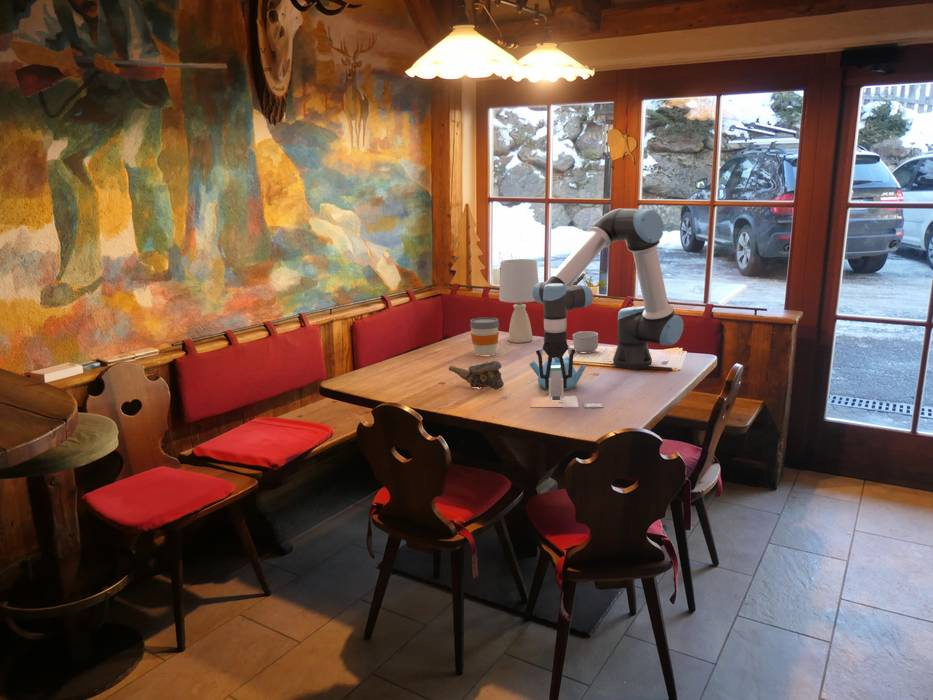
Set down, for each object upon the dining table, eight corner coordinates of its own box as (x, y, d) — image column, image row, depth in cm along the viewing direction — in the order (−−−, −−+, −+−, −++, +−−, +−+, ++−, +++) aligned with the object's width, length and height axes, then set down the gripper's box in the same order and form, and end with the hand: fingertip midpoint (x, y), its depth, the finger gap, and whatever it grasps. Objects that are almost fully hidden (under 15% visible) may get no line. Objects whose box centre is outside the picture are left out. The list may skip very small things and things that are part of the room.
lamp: (529, 346, 342) (528, 264, 333) (493, 343, 351) (490, 263, 342) (547, 338, 357) (545, 259, 349) (511, 335, 366) (509, 258, 358)
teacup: (599, 354, 322) (599, 335, 321) (574, 355, 323) (574, 336, 321) (594, 346, 336) (594, 329, 334) (570, 347, 336) (570, 330, 334)
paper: (576, 396, 264) (576, 396, 264) (578, 407, 252) (578, 406, 252) (529, 397, 265) (529, 396, 265) (530, 407, 254) (530, 407, 254)
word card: (601, 404, 255) (601, 403, 255) (603, 407, 251) (603, 406, 251) (583, 404, 255) (583, 403, 255) (584, 408, 251) (584, 407, 251)
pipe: (500, 392, 273) (500, 365, 271) (443, 389, 280) (442, 363, 277) (506, 385, 282) (506, 359, 279) (451, 382, 288) (450, 357, 286)
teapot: (565, 377, 289) (565, 349, 286) (587, 389, 273) (587, 359, 270) (528, 382, 284) (527, 353, 281) (548, 395, 268) (547, 364, 265)
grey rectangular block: (561, 397, 261) (560, 365, 258) (561, 400, 257) (561, 367, 255) (550, 397, 261) (550, 365, 258) (551, 400, 258) (550, 368, 255)
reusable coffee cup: (468, 357, 326) (466, 322, 323) (474, 350, 338) (473, 317, 335) (497, 357, 324) (496, 323, 320) (502, 350, 336) (501, 317, 332)
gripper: (579, 327, 257) (579, 393, 262) (530, 328, 258) (531, 394, 263) (580, 332, 249) (581, 400, 255) (530, 333, 251) (532, 401, 256)
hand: (556, 397), depth 259 cm, fingers closed on grey rectangular block, 3 cm apart
